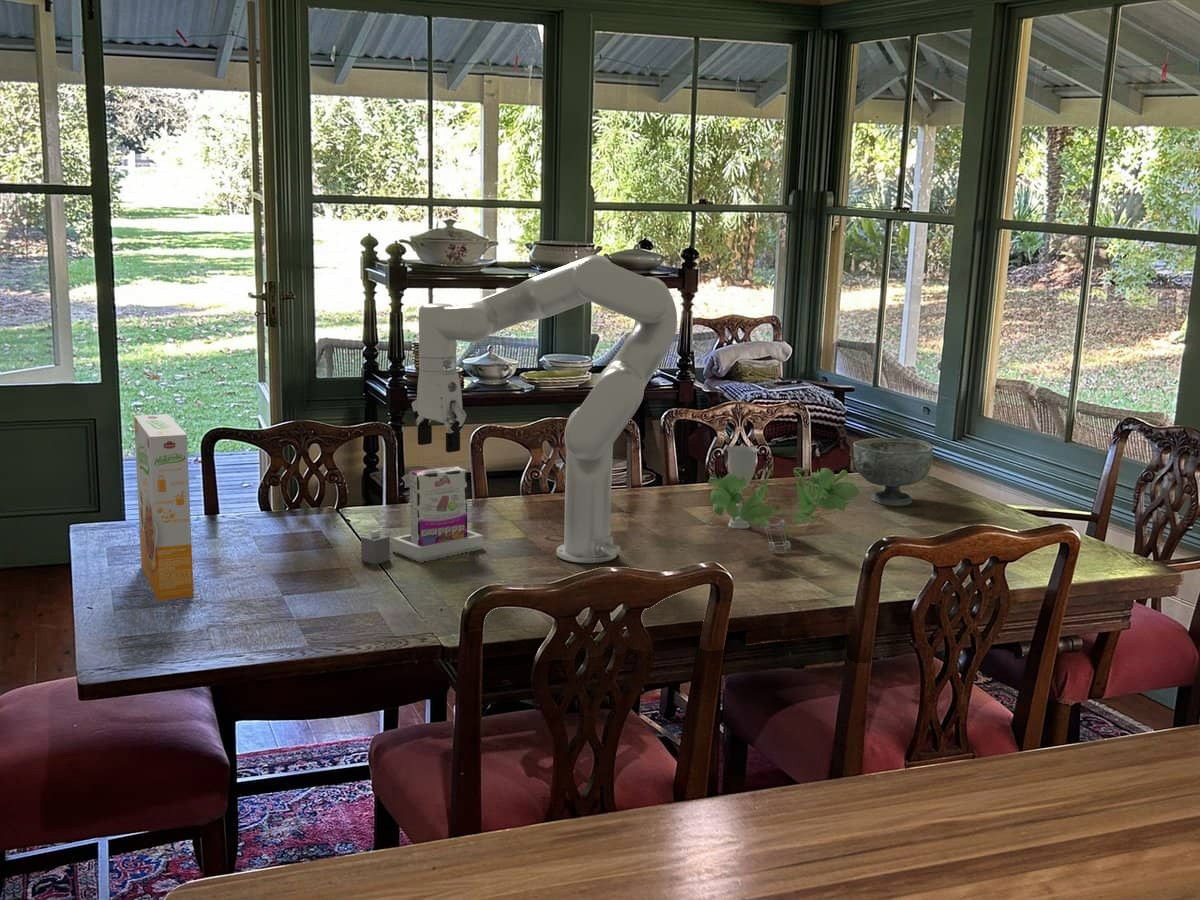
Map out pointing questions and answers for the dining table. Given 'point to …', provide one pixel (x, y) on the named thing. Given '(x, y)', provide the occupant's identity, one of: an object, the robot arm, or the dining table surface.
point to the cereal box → (164, 505)
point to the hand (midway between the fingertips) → (438, 447)
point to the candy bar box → (438, 505)
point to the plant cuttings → (820, 485)
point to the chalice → (741, 473)
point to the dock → (437, 547)
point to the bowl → (893, 465)
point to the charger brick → (375, 548)
